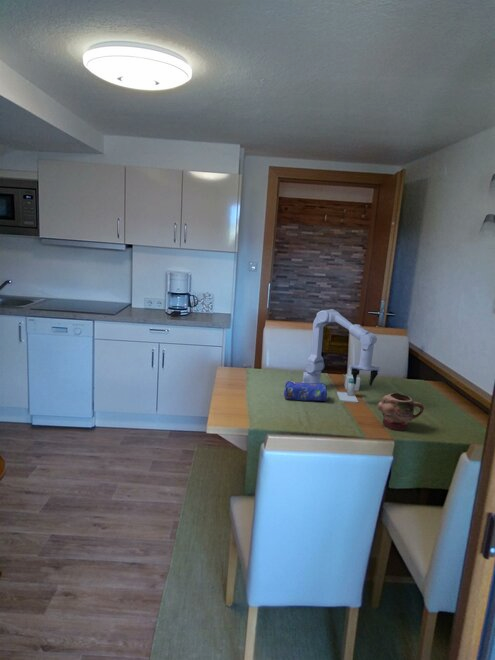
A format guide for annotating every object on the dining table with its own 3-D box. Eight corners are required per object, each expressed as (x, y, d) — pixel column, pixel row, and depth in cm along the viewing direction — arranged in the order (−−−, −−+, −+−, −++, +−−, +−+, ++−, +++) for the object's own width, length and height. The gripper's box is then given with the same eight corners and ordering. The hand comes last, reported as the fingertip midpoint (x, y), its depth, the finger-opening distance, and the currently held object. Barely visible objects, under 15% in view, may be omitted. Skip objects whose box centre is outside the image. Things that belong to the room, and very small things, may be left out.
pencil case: (283, 401, 215) (284, 382, 213) (281, 395, 223) (283, 377, 221) (327, 404, 215) (329, 385, 214) (324, 398, 224) (326, 380, 222)
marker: (347, 395, 227) (349, 380, 225) (346, 393, 231) (348, 378, 229) (354, 396, 227) (356, 380, 225) (353, 394, 230) (355, 378, 229)
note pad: (340, 401, 220) (340, 399, 220) (336, 392, 233) (336, 391, 233) (358, 402, 220) (358, 401, 220) (353, 393, 233) (353, 392, 233)
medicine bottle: (357, 387, 245) (359, 366, 242) (359, 391, 238) (361, 370, 235) (344, 385, 245) (346, 365, 243) (345, 389, 238) (348, 368, 236)
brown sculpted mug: (413, 421, 201) (418, 392, 198) (425, 433, 189) (430, 402, 186) (371, 419, 199) (375, 390, 196) (380, 431, 187) (384, 400, 185)
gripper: (352, 358, 210) (349, 385, 212) (383, 361, 209) (379, 388, 212) (349, 354, 216) (346, 381, 219) (379, 357, 216) (376, 383, 219)
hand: (362, 384), depth 216 cm, fingers open, 7 cm apart
